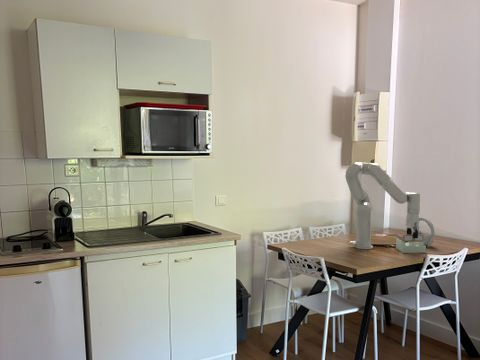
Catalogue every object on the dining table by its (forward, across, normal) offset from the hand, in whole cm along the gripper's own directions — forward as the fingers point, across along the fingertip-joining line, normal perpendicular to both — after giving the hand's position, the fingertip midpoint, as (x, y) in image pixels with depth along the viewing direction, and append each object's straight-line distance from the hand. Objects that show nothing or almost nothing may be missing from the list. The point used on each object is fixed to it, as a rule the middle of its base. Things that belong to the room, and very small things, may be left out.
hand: (412, 236), depth 257 cm
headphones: (+10, -18, +16) cm, 26 cm away
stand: (+10, -3, +1) cm, 11 cm away
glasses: (+3, -5, +1) cm, 6 cm away
